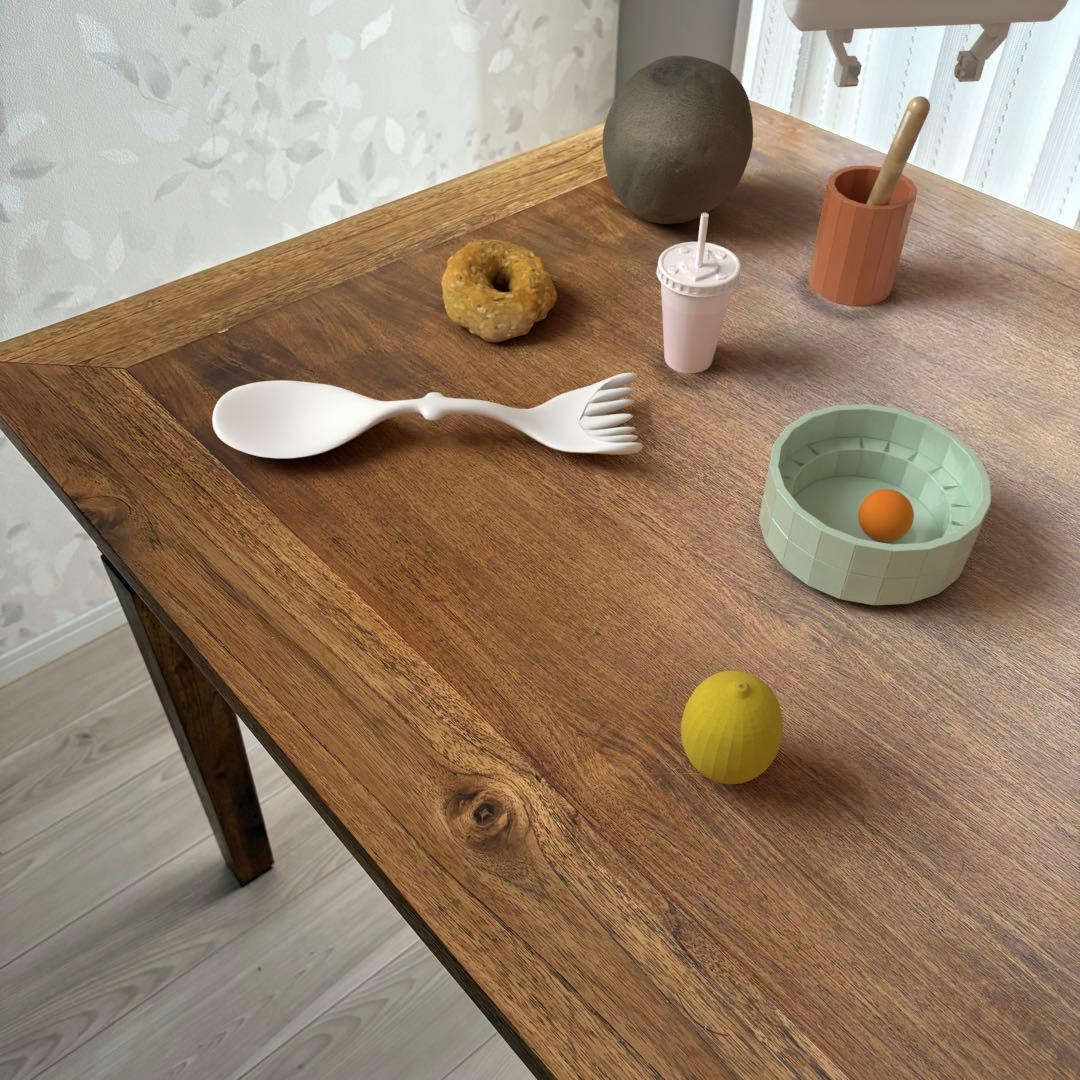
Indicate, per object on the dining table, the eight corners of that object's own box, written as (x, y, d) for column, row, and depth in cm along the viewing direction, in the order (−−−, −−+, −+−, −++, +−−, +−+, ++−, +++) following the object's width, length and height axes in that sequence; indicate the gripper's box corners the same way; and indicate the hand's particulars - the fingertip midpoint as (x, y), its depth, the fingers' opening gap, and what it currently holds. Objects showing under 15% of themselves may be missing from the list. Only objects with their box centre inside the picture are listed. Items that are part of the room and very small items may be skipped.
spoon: (640, 478, 82) (643, 443, 79) (206, 473, 82) (196, 437, 79) (635, 401, 88) (638, 366, 85) (232, 396, 88) (223, 361, 86)
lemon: (655, 767, 65) (667, 685, 59) (716, 712, 67) (732, 628, 61) (730, 828, 62) (750, 748, 56) (790, 768, 64) (815, 685, 59)
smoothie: (641, 383, 89) (655, 227, 79) (655, 338, 94) (669, 184, 84) (721, 395, 88) (744, 239, 78) (731, 348, 93) (754, 194, 83)
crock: (876, 266, 101) (902, 163, 94) (899, 312, 96) (928, 207, 89) (798, 269, 101) (818, 166, 94) (817, 315, 96) (840, 210, 89)
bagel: (440, 348, 93) (436, 299, 89) (445, 275, 100) (442, 228, 97) (559, 347, 93) (559, 298, 89) (555, 274, 100) (555, 226, 97)
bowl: (928, 462, 83) (950, 399, 78) (995, 607, 73) (1024, 544, 69) (740, 471, 82) (751, 408, 78) (782, 618, 72) (797, 555, 68)
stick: (855, 270, 99) (933, 93, 81) (854, 285, 98) (932, 109, 80) (837, 267, 99) (912, 89, 81) (836, 281, 98) (910, 105, 80)
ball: (872, 497, 78) (920, 487, 76) (878, 547, 77) (926, 539, 75) (845, 492, 76) (893, 481, 73) (851, 544, 75) (899, 535, 72)
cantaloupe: (566, 214, 108) (569, 59, 97) (670, 169, 114) (684, 18, 103) (669, 277, 100) (685, 116, 89) (774, 224, 106) (801, 68, 96)
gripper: (810, -102, 73) (780, 105, 83) (1116, -113, 73) (1050, 93, 83) (788, -130, 77) (762, 69, 87) (1077, -140, 78) (1019, 59, 88)
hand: (905, 81), depth 85 cm, fingers open, 8 cm apart
